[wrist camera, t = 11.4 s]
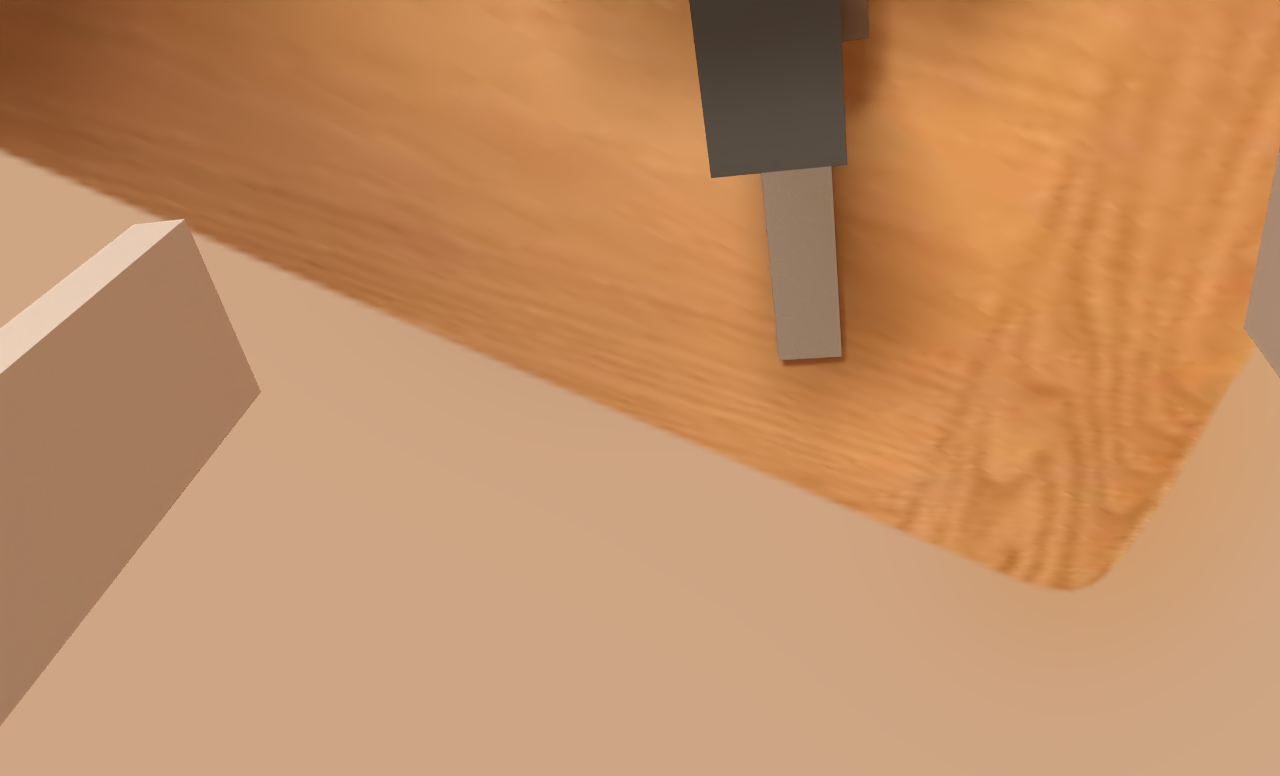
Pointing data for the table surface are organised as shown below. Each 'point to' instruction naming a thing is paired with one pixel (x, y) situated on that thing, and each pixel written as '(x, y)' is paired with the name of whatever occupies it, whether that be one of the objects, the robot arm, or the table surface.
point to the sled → (774, 81)
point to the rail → (803, 262)
